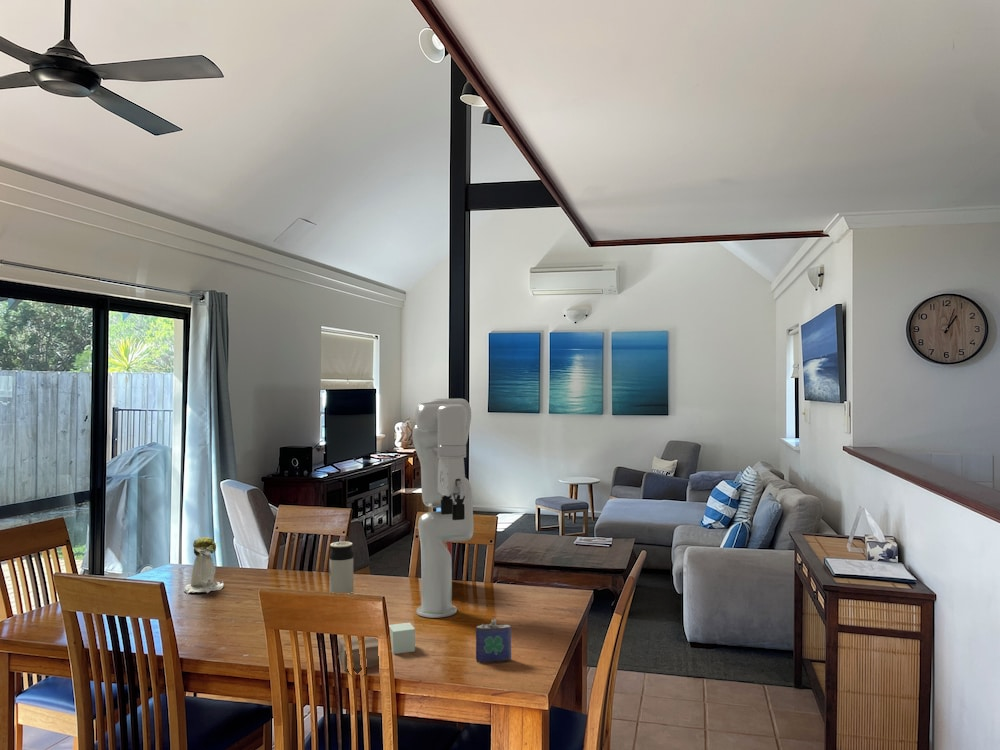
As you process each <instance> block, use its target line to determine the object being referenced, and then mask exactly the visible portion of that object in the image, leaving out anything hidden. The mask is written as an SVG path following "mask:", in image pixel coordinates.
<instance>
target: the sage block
mask: <svg viewBox="0 0 1000 750" xmlns="http://www.w3.org/2000/svg"><path fill="white" fill-rule="evenodd" d="M388 625H389V627H390V635H391V643H392V651H393V653H392V654H393V655H396V654H397V655H398V654H405V653H410V652H412V653H413V652H416V628H415V627H414V626H413V625H412V623H411V622H405V623H404V622H403V623H394V624H388ZM392 651H391V652H392Z"/></svg>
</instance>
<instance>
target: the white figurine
mask: <svg viewBox="0 0 1000 750" xmlns="http://www.w3.org/2000/svg"><path fill="white" fill-rule="evenodd" d="M217 543H218V542H215V541H214V539H213V538H212V537H209V536H207V537H205V536H204V537H202V536H201V537H198V538H196V539H195V540H193V543H192V546H193V553H194V555H195V556H196V557H195V558H194V562H193V567H192V573H191V579H190V583H189V584H186V585H185V586H184V590H183V591H184V592H185V593H186V594H187V595H188V594H190V593H206V594H208V593H210V592H211V591H214V592H215V591H220V590H222V589H223V588H224V581H223V580H222V581H217V580H215V579H214V577H215V573H216V566H215V563H214V560H213V557H212V555H211V554H214V553H216V551H217Z"/></svg>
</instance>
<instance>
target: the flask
mask: <svg viewBox="0 0 1000 750" xmlns="http://www.w3.org/2000/svg"><path fill="white" fill-rule="evenodd" d="M475 659H476V663H477V664H493V663H496V664H499V663H507V662H511V661H512V627H511V625H509V624H498V625H497V619H495V618H493V619H491V622H490V623H489V624H488V623H487V624H484V623H482V624H480V625H477V626H476V627H475Z"/></svg>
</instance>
